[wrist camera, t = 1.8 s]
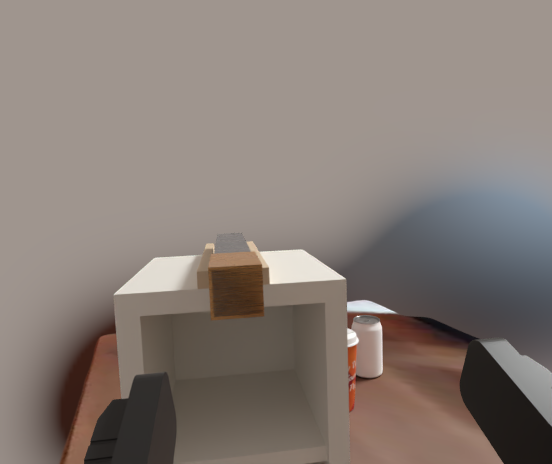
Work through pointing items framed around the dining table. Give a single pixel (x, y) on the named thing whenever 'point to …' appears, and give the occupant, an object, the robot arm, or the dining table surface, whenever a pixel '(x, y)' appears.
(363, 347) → the can
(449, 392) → the dining table surface
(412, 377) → the dining table surface
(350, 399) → the paper cup
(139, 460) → the robot arm
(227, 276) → the brown grained square bar
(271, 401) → the tall white box
